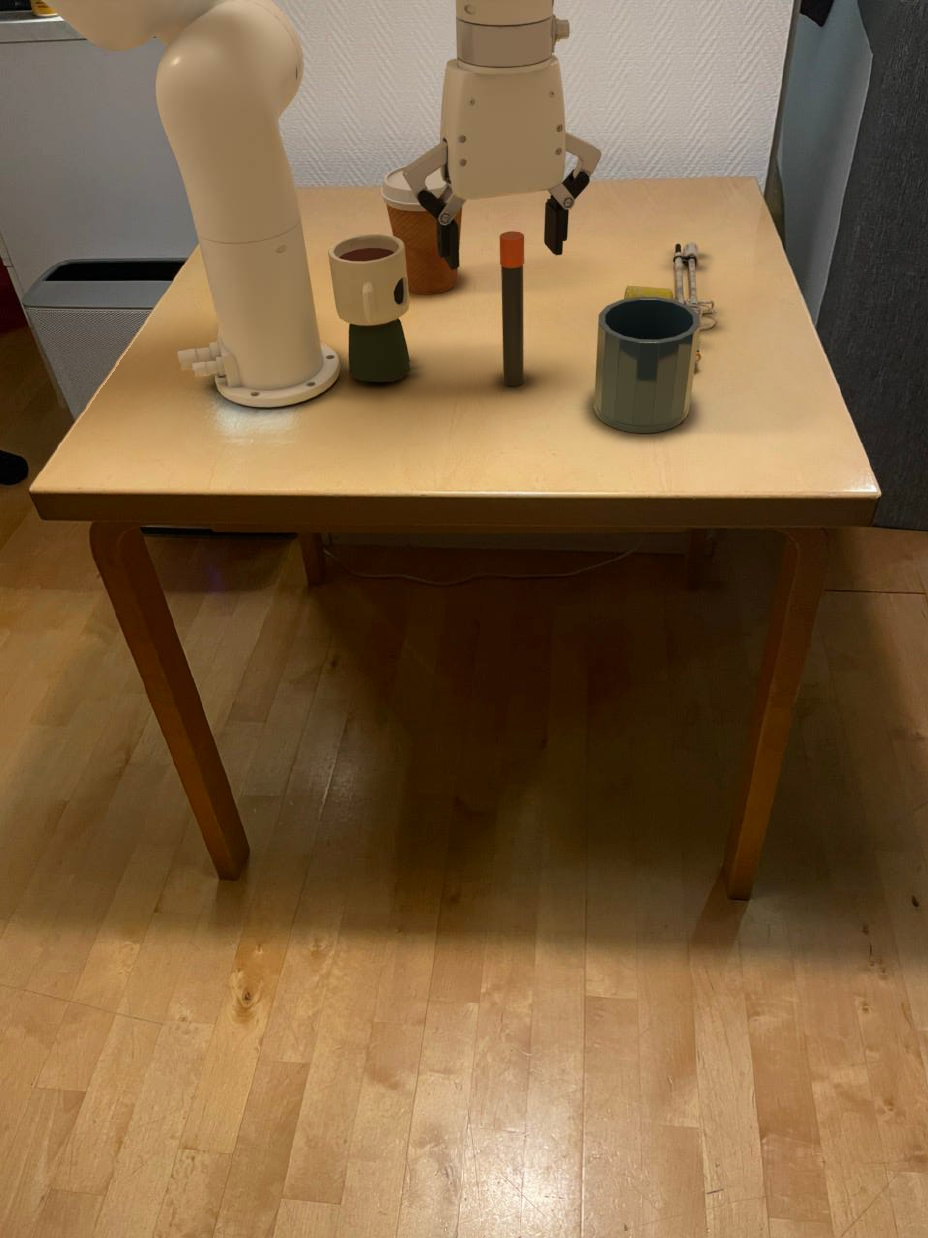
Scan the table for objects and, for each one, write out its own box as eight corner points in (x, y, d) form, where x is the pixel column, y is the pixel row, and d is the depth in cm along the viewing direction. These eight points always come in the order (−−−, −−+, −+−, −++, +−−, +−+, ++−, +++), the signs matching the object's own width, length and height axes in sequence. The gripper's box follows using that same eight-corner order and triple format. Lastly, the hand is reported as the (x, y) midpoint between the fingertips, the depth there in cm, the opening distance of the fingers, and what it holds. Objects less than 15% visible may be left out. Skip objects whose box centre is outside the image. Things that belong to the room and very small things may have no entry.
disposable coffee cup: (483, 271, 115) (480, 165, 107) (449, 305, 109) (443, 196, 101) (412, 261, 118) (404, 157, 110) (375, 293, 112) (363, 186, 104)
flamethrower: (618, 368, 96) (720, 377, 95) (621, 343, 94) (726, 351, 93) (626, 253, 117) (710, 259, 116) (629, 231, 116) (714, 237, 115)
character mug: (416, 398, 95) (405, 269, 86) (343, 404, 95) (325, 274, 86) (414, 345, 103) (403, 221, 94) (347, 350, 103) (330, 226, 94)
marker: (506, 388, 95) (503, 242, 85) (499, 378, 97) (496, 232, 87) (527, 384, 96) (527, 238, 86) (520, 374, 97) (519, 229, 87)
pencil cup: (614, 440, 88) (621, 349, 82) (580, 393, 94) (584, 305, 88) (704, 423, 89) (717, 332, 83) (664, 377, 96) (674, 290, 89)
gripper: (590, 21, 80) (578, 229, 92) (386, 40, 77) (400, 252, 89) (625, 43, 75) (607, 260, 87) (407, 64, 72) (419, 286, 84)
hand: (502, 256), depth 88 cm, fingers open, 9 cm apart
